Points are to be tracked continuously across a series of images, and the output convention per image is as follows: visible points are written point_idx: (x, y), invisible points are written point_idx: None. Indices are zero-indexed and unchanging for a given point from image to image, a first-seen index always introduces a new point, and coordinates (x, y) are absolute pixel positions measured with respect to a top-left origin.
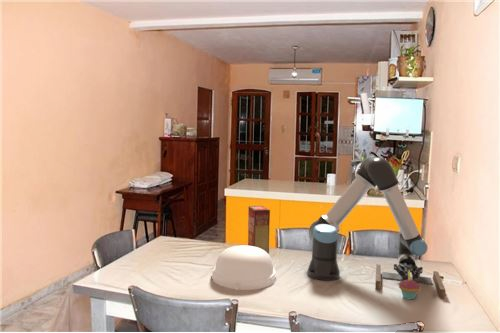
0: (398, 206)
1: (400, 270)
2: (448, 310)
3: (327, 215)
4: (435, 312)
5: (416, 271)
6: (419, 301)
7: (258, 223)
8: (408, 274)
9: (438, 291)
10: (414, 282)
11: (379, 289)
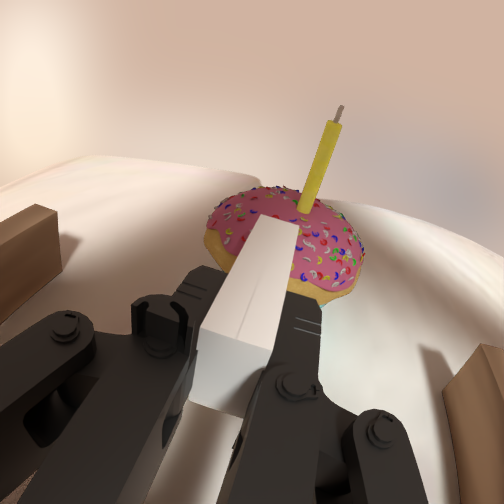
0: None
1: (409, 454)
2: (132, 202)
3: None
4: (199, 203)
5: (25, 377)
6: None
7: None
8: (326, 163)
9: (11, 289)
10: (266, 190)
11: (447, 389)
